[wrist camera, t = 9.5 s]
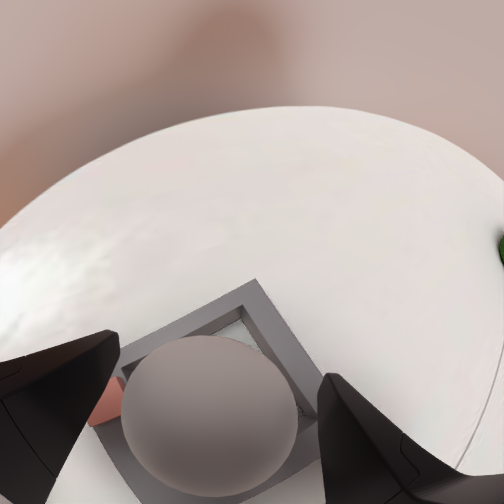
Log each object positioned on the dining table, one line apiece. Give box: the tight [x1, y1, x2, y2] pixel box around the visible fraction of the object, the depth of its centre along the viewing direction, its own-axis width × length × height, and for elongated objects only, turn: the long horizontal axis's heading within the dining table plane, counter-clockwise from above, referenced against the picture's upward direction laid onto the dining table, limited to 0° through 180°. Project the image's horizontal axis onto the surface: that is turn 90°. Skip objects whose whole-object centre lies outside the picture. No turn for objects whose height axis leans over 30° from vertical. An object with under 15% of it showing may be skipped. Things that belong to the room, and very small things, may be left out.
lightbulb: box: [121, 335, 298, 497], centre depth 10 cm, size 6×6×11 cm
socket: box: [87, 279, 324, 504], centre depth 13 cm, size 11×13×4 cm
